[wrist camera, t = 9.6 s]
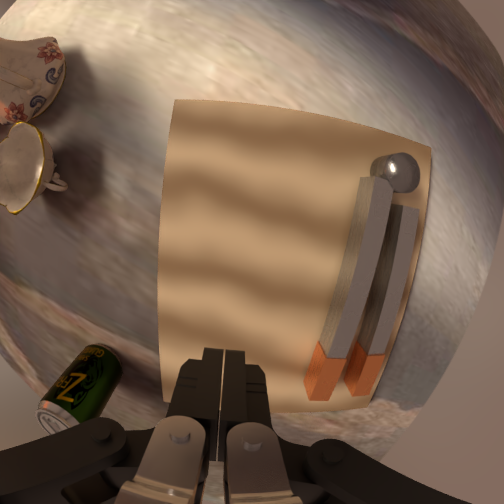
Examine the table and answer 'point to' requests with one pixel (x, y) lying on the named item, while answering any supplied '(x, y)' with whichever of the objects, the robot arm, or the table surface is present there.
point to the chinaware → (27, 118)
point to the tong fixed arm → (383, 300)
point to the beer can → (80, 389)
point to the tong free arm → (358, 268)
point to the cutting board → (265, 238)
